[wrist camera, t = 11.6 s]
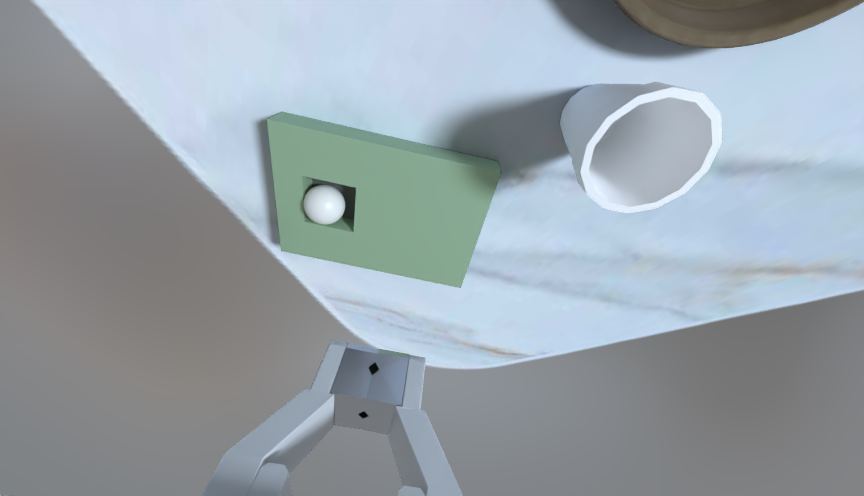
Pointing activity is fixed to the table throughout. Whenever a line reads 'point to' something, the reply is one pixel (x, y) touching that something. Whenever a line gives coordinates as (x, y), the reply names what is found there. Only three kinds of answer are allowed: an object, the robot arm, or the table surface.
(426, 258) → the green
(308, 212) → the ball
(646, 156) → the foam cup
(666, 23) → the plant saucer
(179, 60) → the table surface
